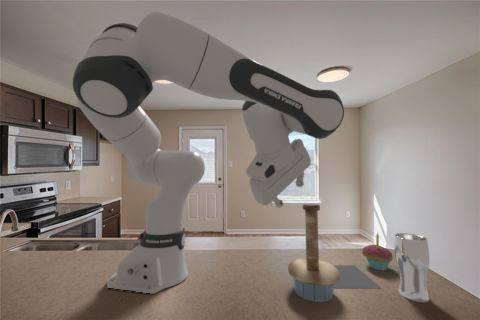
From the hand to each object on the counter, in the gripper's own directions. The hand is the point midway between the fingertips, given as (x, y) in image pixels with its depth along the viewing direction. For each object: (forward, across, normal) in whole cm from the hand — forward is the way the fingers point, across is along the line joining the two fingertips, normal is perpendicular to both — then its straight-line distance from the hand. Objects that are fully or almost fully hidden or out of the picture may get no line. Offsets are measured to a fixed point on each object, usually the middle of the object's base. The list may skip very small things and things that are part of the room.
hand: (290, 195), depth 60 cm
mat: (+29, 0, +10) cm, 31 cm away
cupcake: (+37, -13, +14) cm, 42 cm away
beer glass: (+29, -6, +26) cm, 40 cm away
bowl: (+21, +12, +10) cm, 26 cm away
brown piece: (+17, +9, +9) cm, 21 cm away
